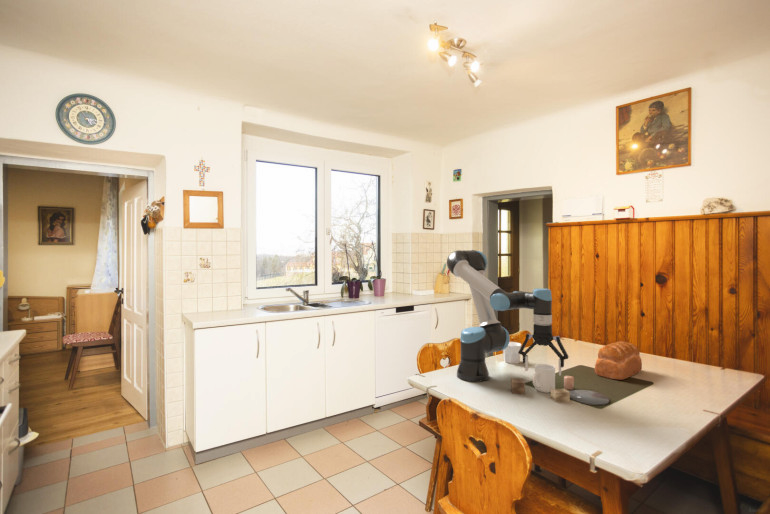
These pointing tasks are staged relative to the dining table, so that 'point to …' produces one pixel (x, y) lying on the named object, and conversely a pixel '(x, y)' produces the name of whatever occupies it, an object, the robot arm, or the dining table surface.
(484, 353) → the robot arm
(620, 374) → the bread
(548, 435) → the dining table surface
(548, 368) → the mug
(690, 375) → the dining table surface
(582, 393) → the gray plate
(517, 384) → the walnut block
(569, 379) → the peach egg shape
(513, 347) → the cup
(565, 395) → the beech block
